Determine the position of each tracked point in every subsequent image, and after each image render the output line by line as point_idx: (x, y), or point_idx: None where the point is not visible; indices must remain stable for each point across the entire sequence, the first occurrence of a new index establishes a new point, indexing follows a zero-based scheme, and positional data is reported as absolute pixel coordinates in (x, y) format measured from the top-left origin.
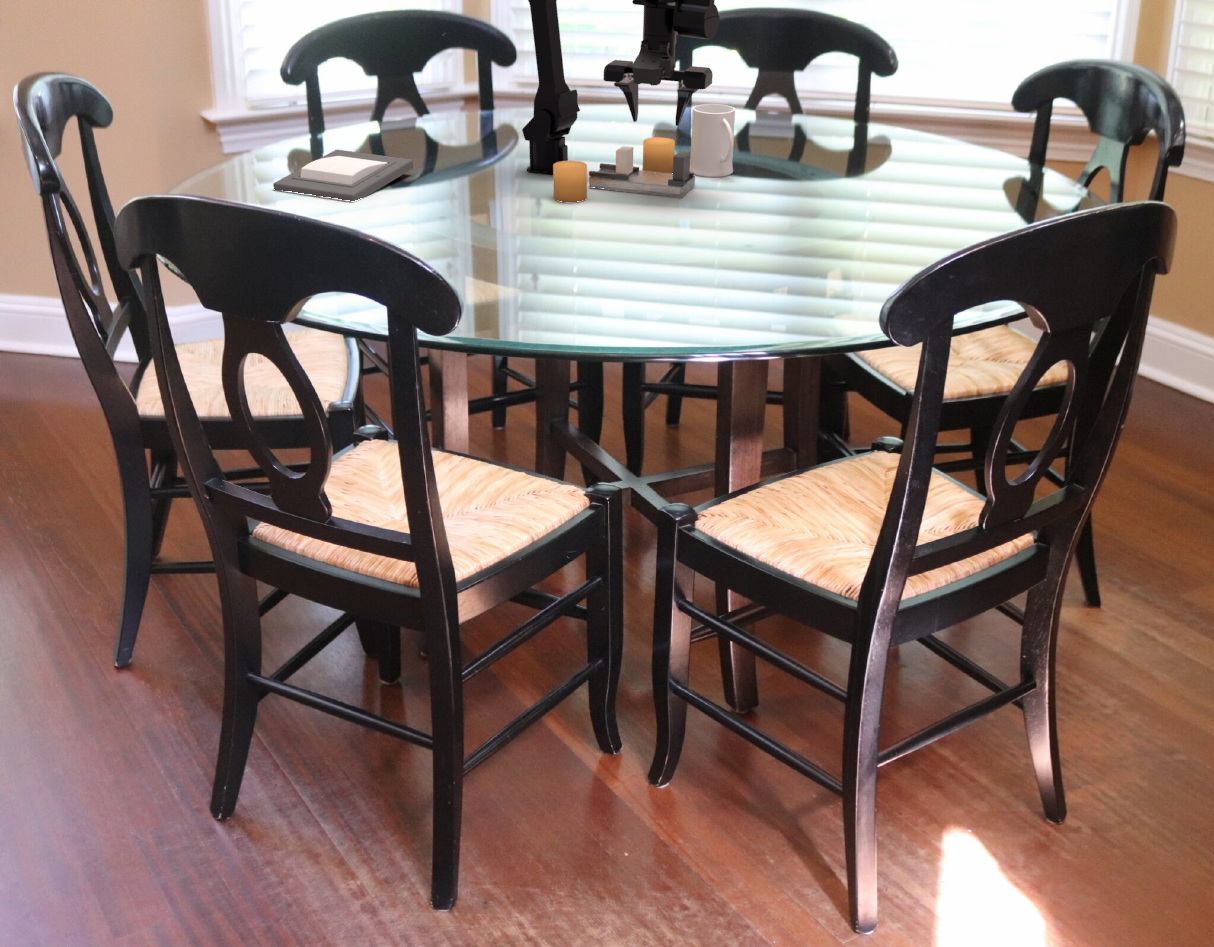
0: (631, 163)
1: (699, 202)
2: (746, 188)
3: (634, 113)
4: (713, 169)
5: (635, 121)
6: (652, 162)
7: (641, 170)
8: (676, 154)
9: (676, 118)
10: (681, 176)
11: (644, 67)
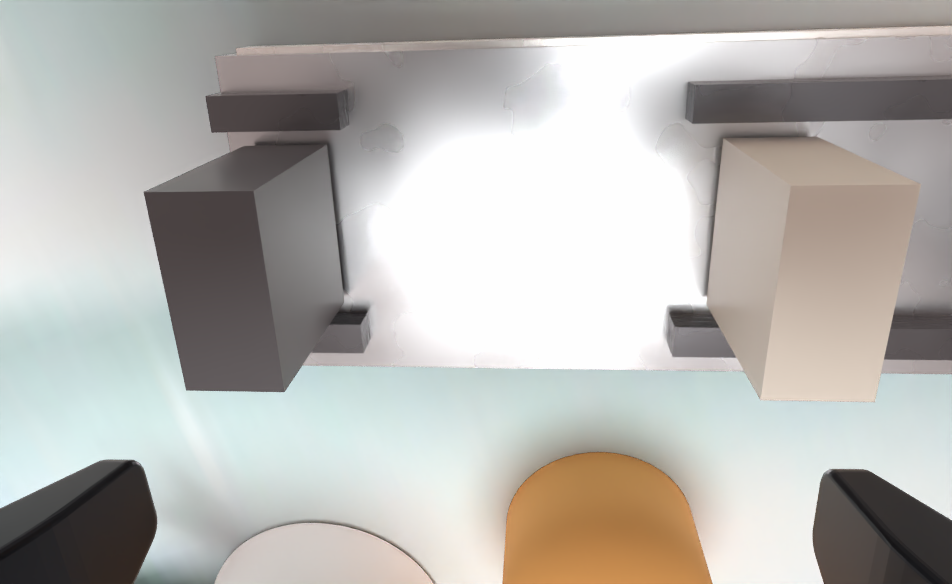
0: (727, 295)
1: (103, 4)
2: (22, 398)
3: (917, 555)
4: (260, 562)
5: (827, 471)
6: (618, 509)
7: (655, 366)
8: (261, 279)
9: (33, 516)
10: (241, 156)
11: None
